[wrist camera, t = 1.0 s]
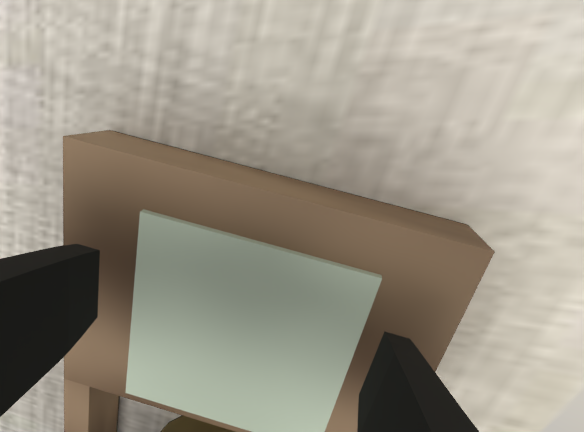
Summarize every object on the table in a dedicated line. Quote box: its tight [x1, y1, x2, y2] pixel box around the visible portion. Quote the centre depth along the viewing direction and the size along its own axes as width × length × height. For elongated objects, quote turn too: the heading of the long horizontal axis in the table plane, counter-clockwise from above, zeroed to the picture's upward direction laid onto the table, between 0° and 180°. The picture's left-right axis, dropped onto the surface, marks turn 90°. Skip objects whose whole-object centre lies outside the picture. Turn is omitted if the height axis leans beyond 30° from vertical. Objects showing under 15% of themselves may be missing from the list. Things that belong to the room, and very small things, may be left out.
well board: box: [63, 130, 494, 432], centre depth 13 cm, size 20×12×2 cm, turn 167°
